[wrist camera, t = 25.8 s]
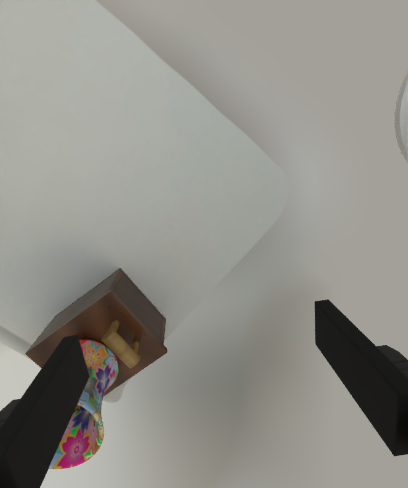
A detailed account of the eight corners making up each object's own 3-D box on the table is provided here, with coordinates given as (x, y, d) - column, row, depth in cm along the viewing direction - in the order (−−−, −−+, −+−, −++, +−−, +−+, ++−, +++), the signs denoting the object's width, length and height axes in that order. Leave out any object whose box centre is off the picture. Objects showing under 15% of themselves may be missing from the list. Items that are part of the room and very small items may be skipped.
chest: (120, 267, 46) (106, 292, 37) (166, 319, 49) (162, 352, 40) (55, 315, 47) (28, 349, 39) (103, 362, 50) (88, 403, 42)
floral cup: (93, 320, 37) (61, 380, 27) (136, 369, 40) (121, 440, 30) (20, 367, 38) (-38, 441, 28) (66, 412, 41) (29, 495, 31)
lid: (111, 288, 37) (101, 307, 32) (167, 349, 40) (165, 374, 35) (27, 349, 39) (6, 376, 34) (88, 403, 42) (76, 435, 37)
